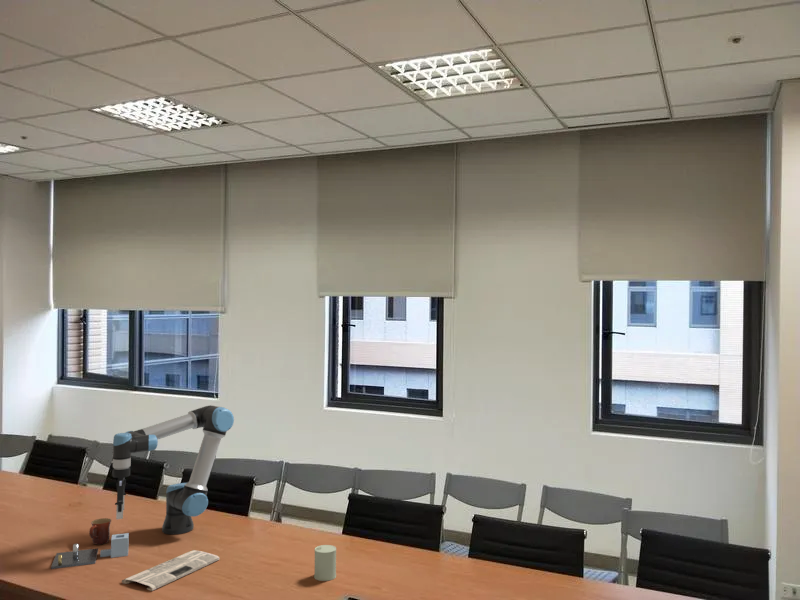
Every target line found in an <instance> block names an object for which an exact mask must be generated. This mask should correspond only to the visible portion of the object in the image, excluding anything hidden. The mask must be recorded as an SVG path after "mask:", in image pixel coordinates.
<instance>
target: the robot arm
mask: <svg viewBox="0 0 800 600" xmlns="http://www.w3.org/2000/svg"><path fill="white" fill-rule="evenodd" d="M234 421H235V419H234V414H233V413H232V411H231V410H230V409H228V408H225V407H222V406H215V405H212V404H211V405H206V406H201V407H198V408H195V409H193V410H191V411H188V412H187V414H184V415H183V414H182V415H180V416H179V417H174V418H171V419H168V420H164V421H163V422H159V423H156V424H153V425H150V426H147V427H143V428H140V429H137V430H134V431H133V430H128V431H125V432H119V433H116V434H114V436H113V439H112V440H113V441H112V442H113V443H112V460H111V462H110V463H111V464H112V473H111V475H112V478H116V479H117V480H116V483H115V485H116V492H117V493H116V495H117V496H116V502H114V505H115V506H116V510H115V511H116V514H115V515H116V517H115V520H122V519H124V511H125V496H127V492H125V489H126V483H127V479H125V478H128V477H129V476H131V464H132V463H131V462H132V461H131V460H132V459H131V458H132V457H131V455H132V454H137V453H144V452H151V451H155V450H156V449H157V448H158V442H159V441H158V440H161V439H163V438H166V437H167V438H168V437H169V436H172V435H175V434H179V433H181V432H185V431H187V430H191V429H193V430H197V429H201V428H202V432H203V437H202V441H201V443H200V447H199V450H198V453H197V457H196V459H195V462H194V465H193V469H192V471H191V474H190V478H189V481H187V482H181V483H175V484H170V485H168V486H167V487H166V492H165V494H166V499H165V503H166V505H165V511H166V512H165V513H166V514H165V517H164V521H163V523H162V527H161V528H162V529H161V531H162V533H163V534H165V535H182V534H185V533H189V532H191V531H193V530H194V521H193V518H194V517H198V516H200V515H201V514H203V513H204V512H205V511H206V509H207V507H208V505H209V499H208V496H207V495H208V487H207V484H208V481H209V479H210V476H211V471H212V469H213V465H214V462H215V458H216V455H217V453H218V450H219V446H220V442H221V441H222V440H221V439H222V438H225V437H226V434H227V432H228V431H229V430H231V429H232V427H233V426H234Z"/></svg>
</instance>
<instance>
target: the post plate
mask: <svg viewBox="0 0 800 600" xmlns="http://www.w3.org/2000/svg"><path fill="white" fill-rule="evenodd" d="M79 546H80V544H79V543H74V544H73V545H72V550H71V551H63V552H56V554H55V557H54V559H53V561H52V564H51V565H50V569H51V570H54V569H55V570H56V569H62V568H70V567H78V566H79V567H80V566H86V565H95V564H96V561H97V556H98V553H99V548H98V547H97V548H89V549H88V548H87V549H80V550H79Z"/></svg>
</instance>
